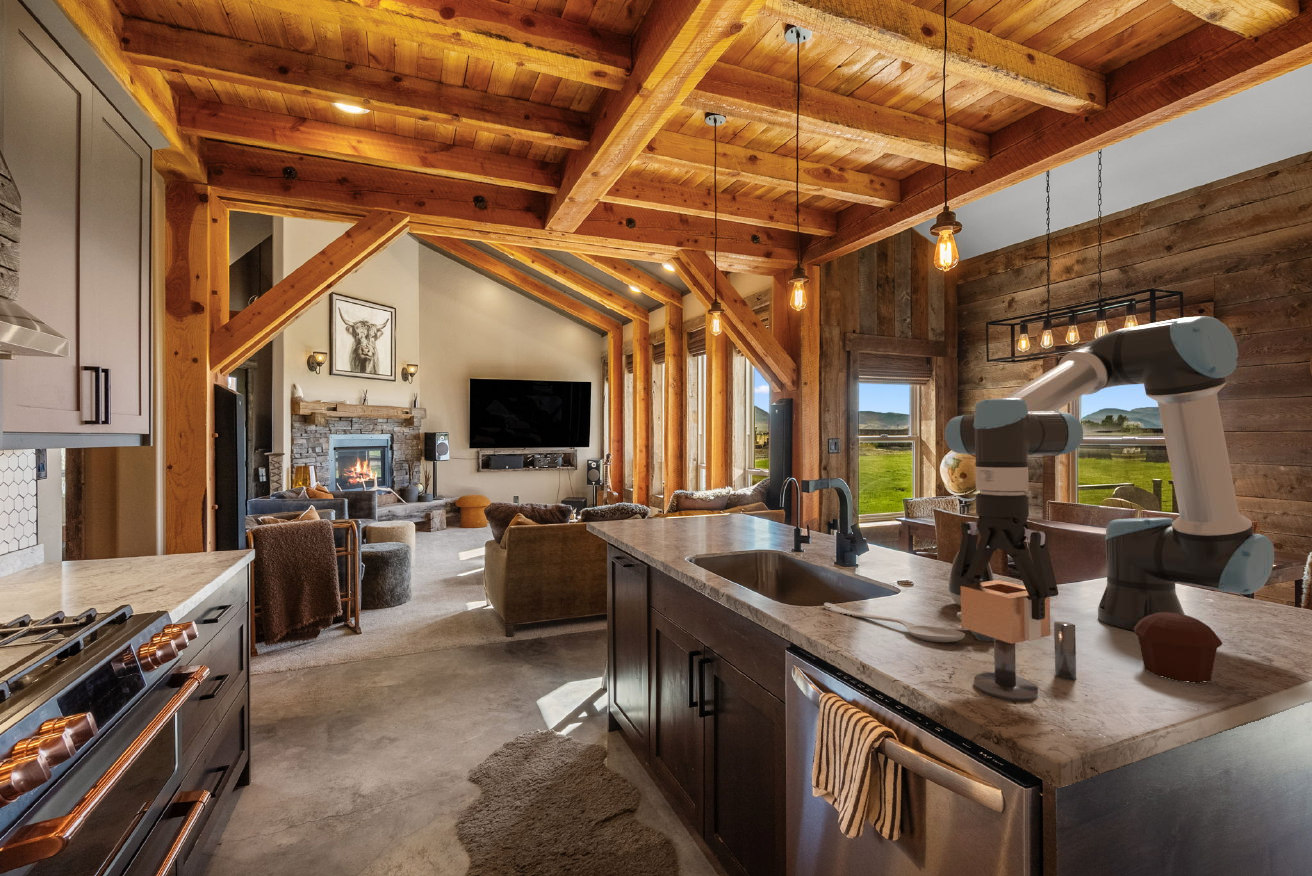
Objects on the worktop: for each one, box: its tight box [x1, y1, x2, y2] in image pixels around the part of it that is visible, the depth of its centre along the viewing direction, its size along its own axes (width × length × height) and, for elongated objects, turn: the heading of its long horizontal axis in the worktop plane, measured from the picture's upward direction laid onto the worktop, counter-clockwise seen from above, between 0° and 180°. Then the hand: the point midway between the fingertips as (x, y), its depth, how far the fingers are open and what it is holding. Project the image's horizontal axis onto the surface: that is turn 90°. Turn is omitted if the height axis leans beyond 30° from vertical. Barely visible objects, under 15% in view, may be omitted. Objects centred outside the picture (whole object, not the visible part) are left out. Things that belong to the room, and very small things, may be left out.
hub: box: [973, 638, 1039, 702], centre depth 97 cm, size 9×9×10 cm
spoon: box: [823, 602, 966, 643], centre depth 132 cm, size 35×8×3 cm, turn 33°
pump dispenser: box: [948, 545, 995, 607], centre depth 145 cm, size 10×10×15 cm
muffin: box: [1133, 612, 1223, 684], centre depth 103 cm, size 12×11×10 cm
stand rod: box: [1053, 621, 1077, 681], centre depth 102 cm, size 3×3×9 cm
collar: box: [960, 579, 1051, 644], centre depth 97 cm, size 9×9×7 cm
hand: (1004, 629), depth 97 cm, fingers closed on collar, 9 cm apart
